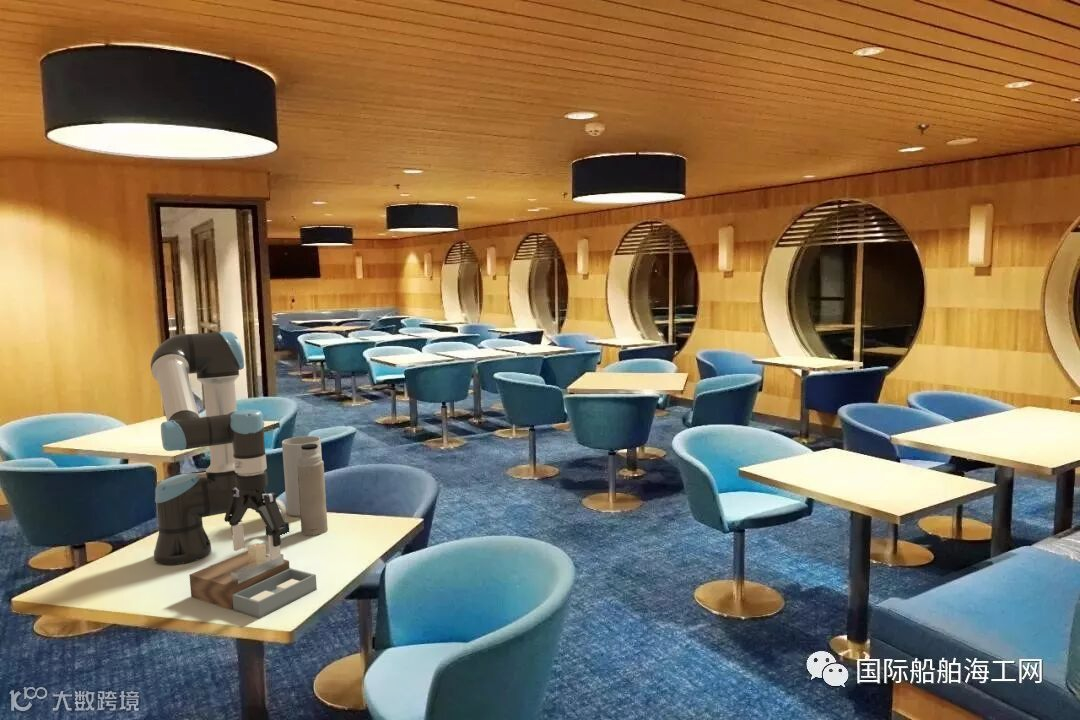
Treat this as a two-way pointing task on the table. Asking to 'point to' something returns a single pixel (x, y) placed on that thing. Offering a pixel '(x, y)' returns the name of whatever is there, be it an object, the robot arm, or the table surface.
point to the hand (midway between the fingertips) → (257, 553)
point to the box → (277, 599)
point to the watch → (284, 516)
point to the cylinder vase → (294, 469)
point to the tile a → (262, 595)
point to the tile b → (286, 584)
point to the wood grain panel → (226, 580)
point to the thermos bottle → (312, 491)
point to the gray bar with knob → (256, 564)
